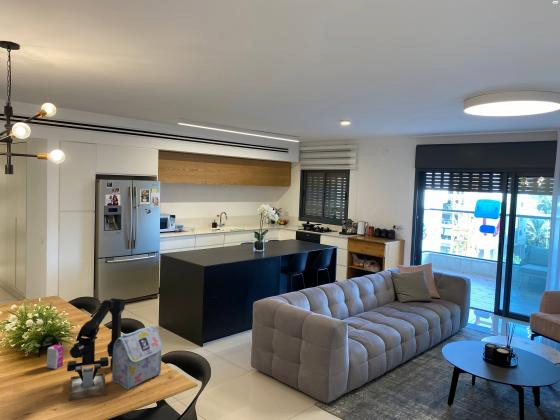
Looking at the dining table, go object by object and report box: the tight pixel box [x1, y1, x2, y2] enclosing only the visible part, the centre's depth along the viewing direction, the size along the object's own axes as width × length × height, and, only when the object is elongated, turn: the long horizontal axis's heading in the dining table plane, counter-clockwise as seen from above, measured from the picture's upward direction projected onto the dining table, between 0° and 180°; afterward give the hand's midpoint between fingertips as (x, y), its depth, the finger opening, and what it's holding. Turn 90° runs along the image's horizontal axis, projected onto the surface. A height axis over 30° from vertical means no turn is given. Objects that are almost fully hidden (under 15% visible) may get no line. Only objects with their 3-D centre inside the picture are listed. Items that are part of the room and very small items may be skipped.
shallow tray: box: [68, 372, 106, 401], centre depth 207 cm, size 16×18×4 cm
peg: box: [82, 366, 94, 388], centre depth 206 cm, size 4×4×8 cm
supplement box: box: [46, 344, 64, 371], centre depth 228 cm, size 6×6×12 cm
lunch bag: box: [111, 325, 163, 390], centre depth 218 cm, size 22×17×26 cm
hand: (87, 380), depth 206 cm, fingers closed on peg, 4 cm apart
